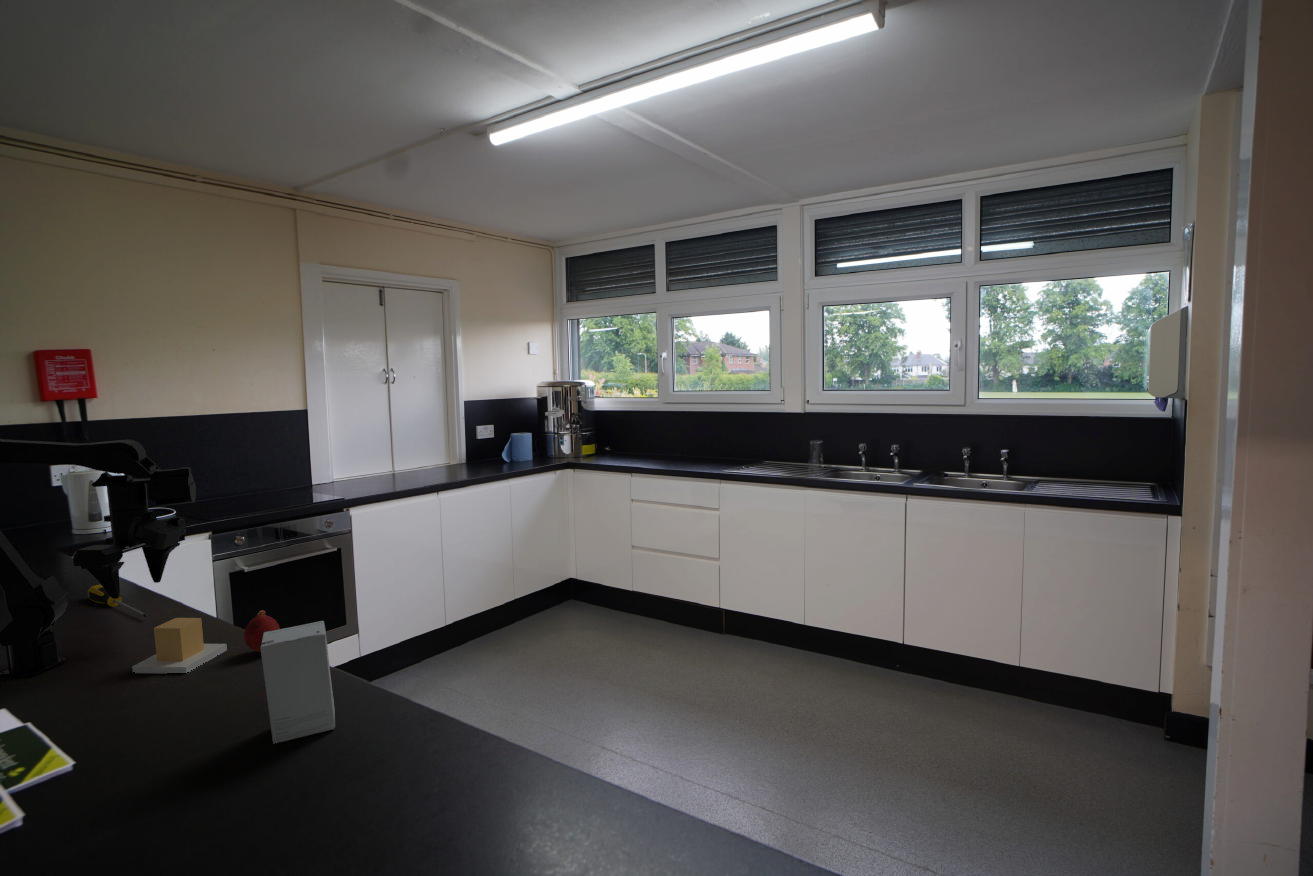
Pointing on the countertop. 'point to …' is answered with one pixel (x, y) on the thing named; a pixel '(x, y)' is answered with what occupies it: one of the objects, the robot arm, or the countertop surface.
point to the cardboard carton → (178, 639)
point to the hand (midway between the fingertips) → (137, 590)
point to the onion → (259, 630)
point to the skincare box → (298, 681)
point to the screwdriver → (108, 598)
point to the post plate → (180, 666)
